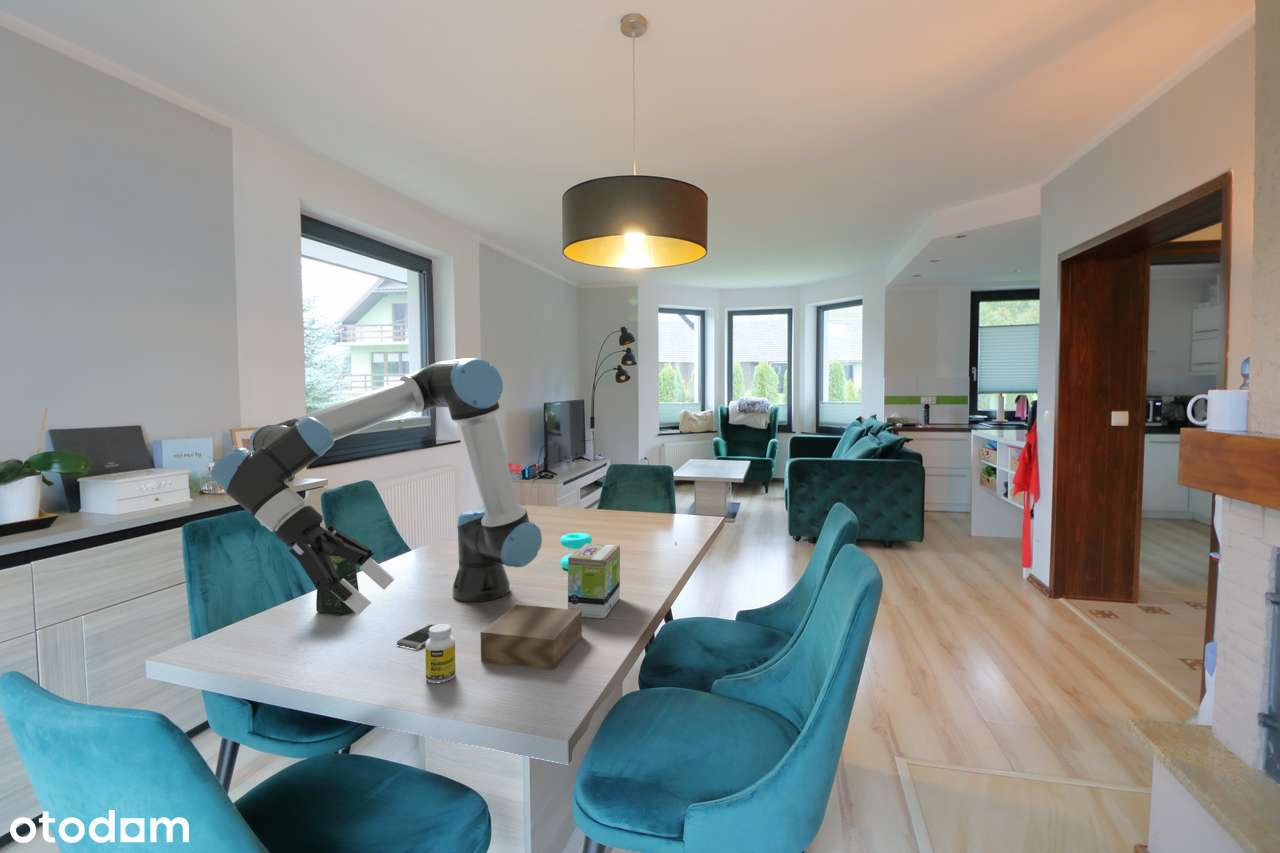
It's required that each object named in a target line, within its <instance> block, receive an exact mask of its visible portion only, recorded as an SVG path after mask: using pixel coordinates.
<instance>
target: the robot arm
mask: <svg viewBox="0 0 1280 853" xmlns="http://www.w3.org/2000/svg"><path fill="white" fill-rule="evenodd" d="M503 391H504V382H503V378H502V376H501V374H500V372H499V370H498V369H497V368H496V366H494V365H493V364H492V363H490V362H489V361H488V360H485V359H482V358H474V357H466V358H465V357H463V358H459V359H458V358H457V359H451V360H449V359H448V360H441V361H438V362H435V363H431V364H430V365H428V366H425V367H423V368H420V369H418V370H415V371H413V372H410V373H408V374H404V375H402V376H401V377H400V379H399V381H397V382H395V383H393V384H390V385H386V386H383V387H380V388H378V389H374V390H372V391H369V392H366V393H363V394H360V395H356V396H355V397H352V398H349V399H346V400H343V401H340V402H336V403H334V404H331V405H329V406H326V407H323V408H319V409H317V410H314V411H311V412H308V413H305V414H303V415H299V416H296V417H293V418H291V419H288V420H285V421H282V422H279V423H275V424H267V425H264V426H260V427H258V428H256V429H255V430H254V431H253V432H252V433H251V434H250V436H249V440H248V448H249V449H248V448H246V447H239V448H236V449H234V450H233V451H230V452H228V453H226V454H225V455H224V456H222V457H221V458H220V459H219V460H217V461H216V462H215V463H214V465H212V468H211V470H210V477H211V479H212V480H213V481H214V482H215V483H216V484H217V485H218V486H219V488H221V489H222V490H223V491H224V492H225V494H226V495H228V496H229V498H231V499H233V500H234V501H235V502H236V503H237V504H239V506H241V507H242V508H243V509H244V510H246V511H247V512H248V513H249V514H250V515H251V516H252V517H253V518H255V519H256V520H257V521H259V525H260V526H261V527H265V528H266V529H267V530H268V531H270V532H271V533H272V532H275V533H274V534H275V537H276V538H277V539H278V540H280V542H281V543H283V544H284V545H285V546H286V547H287V548H290V549H289V552H290V554H292V555H293V557H294V558H295V559H296V560H297V561H298V563H299V564H300V566H301V568H302V569H303V570H304V572H305V573H306V574H307V576H308V578H309V579H310V581H311V583H312V584H313V585H314V587H315V589H316V591H317V590H318V591H320V592H322V593H323V594H326V593H327V592H329V591H332V592H333V593H334V594H335V595H336V596H337V597H338V598H340V599H341V600H342V601H343V602H344V603H345V604H346V605H347V606H349V607H350V608H351V609H352V610H353V611H352V612H354V613H356V614H357V615H358V616H359V615H361V613H363V611H365V609H367V608H368V607H369V605H371V604H372V601H370V600H369V598H367V597H366V596H365V595H364V594H362V593H361V592H360V590H359V591H358V590H356V589H355V588H354V587H353V586H352V585H351V584H350V583H349V582H347V581H346V580H345V579H344V578H343V579H342V580H341V581H340V579H339V576H338V574H337V572H336V570H335V567H334V565H333V563H332V561H331V558H330V556H332V555H336V556H339V557H341V558H344V559H346V560H348V561H351V562H353V563H356V565H359V566H360V567H359V569H360V570H361V571H362V572H363V573H364V574H365V575H367V577H369V579H371V581H373V582H374V583H375V584H377V586H378V587H380V588H381V589H383V591H385V590H386V589H387V588H388V587H389V586H390V585H391V584H392V583H393V582H394V581H395V580H396V578H394V576H392V575H391V574H390V573H389V572H388V571H386V570H385V569H384V568H383V567H382V566H381V564H379V563H378V562H377V561H376V560H374V559H373V558H372V556H373V555H374V552H373V551H372V550H371V549H370V548H368V547H367V546H365V545H364V544H362V543H360V542H359V541H357V540H356V539H355V538H354V539H355V540H356V541H355V540H354V539H352V537H350V536H349V535H347V534H345V533H343V532H342V531H340V530H339V529H338V528H337V527H336V526H334V525H332V524H329V526H327V527H326V528H324V527H323V526H321V524H322V522H323V520H324V517H323V515H321V514H320V513H319V512H318V511H317V510H316V509H315V508H314V507H313V506H312V505H307V501H306V500H305V499H304V498H303V497H302V496H301V495H300V494H299V493H297V492H296V491H295V490H294V489H293V488H292V487H290V486H289V485H288V484H287V483H286V482H287V481H289V480H290V479H292V478H293V477H294V476H296V475H297V474H298V473H300V472H301V471H302V470H304V469H305V468H307V467H308V466H309V465H310V464H312V463H313V462H314V461H317V459H319V458H320V457H323V456H324V454H325V453H326V452H327V451H329V450H330V449H331V448H332V447H333V446H334V444H335V441H337V440H340V439H343V438H345V437H347V436H349V435H352V434H353V435H354V434H355V433H358V432H361V431H363V430H367V429H369V428H371V427H374V426H376V425H378V424H381V423H383V422H387V421H390V420H391V419H394V418H396V417H400V416H402V415H405V414H407V413H410V412H411V411H412V412H413V413H414V412H415V413H417V414H418V413H421V412H424V411H426V410H431V409H437V408H448V410H449V414H450V418H451V420H452V421H453V422H454V423H456V424H458V425H459V426H460V429H461V433H462V436H463V440H464V443H465V447H466V450H467V454H468V457H469V461H470V464H471V467H472V472H473V475H474V478H475V479H474V480H475V483H476V486H477V489H478V490H477V491H478V493H479V497H480V499H481V500H480V501H481V505H482V507H483V508H480V509H474V510H473V509H472V510H468V511H464V512H462V513H460V514H459V515H458V518H457V527H456V528H457V540H458V541H457V542H458V544H457V546H458V548H457V549H458V569H457V572H456V576H455V579H454V582H453V585H452V597H453V598H454V599H455V600H457V601H461V602H468V603H469V602H471V603H477V602H487V601H492V600H493V601H494V600H496V599H499V598H503V597H505V596H506V595H507V594H508V593H510V590H511V589H510V588H511V587H510V580H509V577H508V574H507V572H506V569H505V566H506V567H508V568H509V567H513V568H523V567H525V566H528V565H529V564H530V563H532V561H534V559H536V557H537V555H538V553H539V551H540V550H541V546H542V542H543V535H542V531H541V529H540V527H539V526H538V525H537V524H535V523H534V522H532V521H531V522H530V519H529V515H528V511H527V509H526V507H525V506H524V505H521V504H520V503H519V500H518V497H517V494H516V490H515V489H516V488H515V485H514V482H513V478H512V474H511V470H510V467H509V462H508V458H507V456H506V452H505V448H504V444H503V440H502V436H501V431H500V428H499V424H498V421H497V414H498V412H499V411H500V409H501V408H500V403H499V401H500V399H501V398H502V396H501V395H502V393H503ZM329 555H330V556H329ZM320 581H321V582H320ZM339 581H340V582H339Z"/></svg>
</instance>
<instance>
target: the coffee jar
mask: <svg viewBox="0 0 1280 853" xmlns="http://www.w3.org/2000/svg"><path fill="white" fill-rule="evenodd" d="M351 538H352V537H351ZM352 539H354V540H355V541H357V540H356V539H355V538H352ZM329 556H330V555H329ZM330 558H331V561H332V563H333V565H334V567H335V570H336V572H337V574H338V576H339V579H340V581H341V580H342V579H343V578H344V579H345V580H346V581H347V582H349V583H350V584H351V585H352V586H353V587H354V588H355V589H356V590H358V591H359V592H360V590H359V584H358V574H357V564H356V563H353V562H351V561H348V560H346V559H344V558H341V557H339V556H336V555H332V556H330ZM340 581H339V582H340ZM320 582H321V581H320ZM315 604H316V608H315V609H316V612H317V613H318V614H322V615H334V616H335V615H344V614H348V613H352V612H354V611H353V610H352V609H351V608H350V607H349V606H347V605H346V604H345V603H344V602H343V601H342V600H341V599H340V598H338V597H337V596H336V595H335V594H334V593H333V592H332V591H329V592H327V593H326V594H323V593H322V592H320V591H318V590H317V589H316V603H315Z"/></svg>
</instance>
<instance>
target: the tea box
mask: <svg viewBox="0 0 1280 853" xmlns="http://www.w3.org/2000/svg"><path fill="white" fill-rule="evenodd" d="M571 554H572V555H571V556H570V557H569V558H568V569H567V570H568V573H567V609H573V610H582V618H591V619H605V618H606V617H607V616H608V614H609V613H610V612H611V610H612V608H613V607H614V606H615V605H616V603H617V602H618V600H619V599H620V595H621V591H620V588H621V584H620V583H621V579H620V578H621V576H620V575H621V574H620V573H621V545H616V544H615V545H614V544H602V543H601V544H599V543H591V544H585V545H584V546H582V547H581V548H580V549H576V550H575V552H573V553H571Z"/></svg>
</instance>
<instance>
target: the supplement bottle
mask: <svg viewBox="0 0 1280 853" xmlns="http://www.w3.org/2000/svg"><path fill="white" fill-rule="evenodd" d="M433 625H434V626H432V627H430V628H429V637H430V638H429V639H428V640H427V641H426V644H425V646H424V648H425V649H424V650H425V653H424V654H425V679H427V680H428V681H430V682H434V683H433V684H438V683H437V682H443V683H446V682H445V681H447V682H449V681H450V679H451V680H452V679H453V678H454V677H455V676H456V639H455V638H454V636H452V626H451V624H448V623H438V624H433ZM427 680H426V681H427ZM448 680H449V681H448ZM428 681H427V682H428ZM430 682H429V683H430Z"/></svg>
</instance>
